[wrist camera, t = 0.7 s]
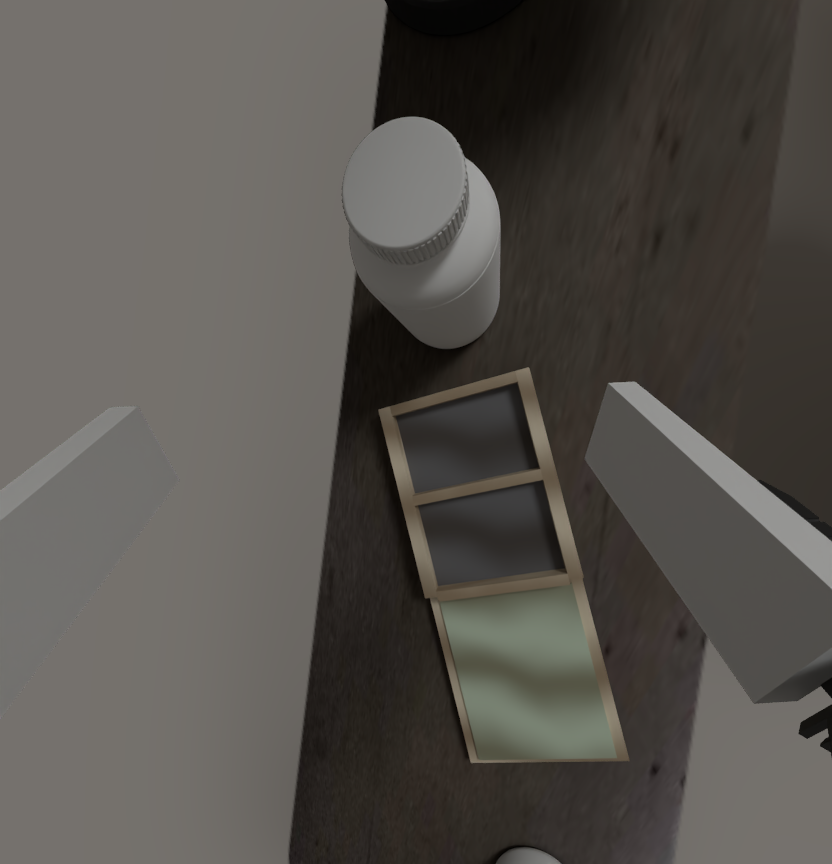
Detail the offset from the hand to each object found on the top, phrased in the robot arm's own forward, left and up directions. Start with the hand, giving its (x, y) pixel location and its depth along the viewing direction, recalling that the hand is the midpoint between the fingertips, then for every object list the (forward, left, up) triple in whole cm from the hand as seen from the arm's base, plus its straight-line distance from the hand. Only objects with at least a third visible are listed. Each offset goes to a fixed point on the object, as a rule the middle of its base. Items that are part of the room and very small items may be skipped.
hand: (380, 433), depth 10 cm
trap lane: (+9, +8, -19) cm, 23 cm away
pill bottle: (-9, -5, -19) cm, 22 cm away
